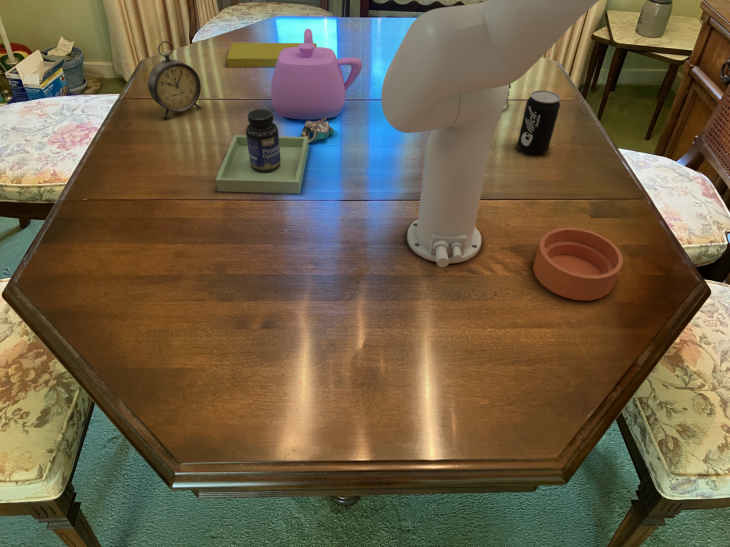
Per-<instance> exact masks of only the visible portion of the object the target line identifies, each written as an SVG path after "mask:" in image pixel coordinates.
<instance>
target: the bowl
mask: <svg viewBox="0 0 730 547" xmlns="http://www.w3.org/2000/svg"><path fill="white" fill-rule="evenodd" d="M533 261H534V262H533V264H532V265H533V266H532V270H533V273H534V276H535V278H536V279H537V280H538V281H539V283H540V284H541V285H542V286H543V287H545V288H546V289H547V290H549V291H550V292H552V293H554V294H556V295H558V296H560V297H563V298H566V299H570V300H574V301H588V302H589V301H594V300H599V299H602V298H604V297H605V296H607V295H609V294H610V293H611V291H612V289H613V288H614V286H615V283H616V281H617V279H618V276H619V275H620V272H621V270H622V267H623V266H624V256H623V254H622V251H621V250H620V248H618V246H617V245H616V244H615V243H613V241H612V240H610V239H608V238H607V237H605V236H604V235H602V234H600V233H598V232H594V231H592V230H590V229H587V228H586V229H585V228H582V227H581V228H580V227H572V226H569V227H568V226H564V227H558V228H554V229H551V230H549V231H548V232H547V231H546V233H545V234H543V236H542V237H541V238H540V240H539V244H538V247H537V250H536V254H535V257H534V260H533Z"/></svg>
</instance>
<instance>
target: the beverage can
mask: <svg viewBox="0 0 730 547" xmlns="http://www.w3.org/2000/svg"><path fill="white" fill-rule="evenodd" d="M560 99H561V97H560V95H558V93H556V92H554V91H551V90H545V89H544V90H543V89H539V90H534V91H532V92H531V93H530V96H529V97H528V99H527V100H526V104H525V108H524V113H523V118H522V122H521V126H520V130H519V135H518V139H517V147H518V149H519V150H520V152H522V153H524V154H526V155H530V156H541V155H543V154H545V153H546V152H548V151H549V148H550V144H551V142H552V137H553V134H554V130H555V127H556V123H557V119H558V115H559V111H560V109H561V108H560V107H561V102H560Z"/></svg>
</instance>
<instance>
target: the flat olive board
mask: <svg viewBox="0 0 730 547" xmlns="http://www.w3.org/2000/svg"><path fill="white" fill-rule="evenodd" d="M302 43H303V42H232V43H231V46H230V49H229V51H228V53H227V57H226V64H227V68H241V67H243V68H253V67H254V68H257V67H258V68H275V66H276V63H277V60H278V57H279V54H280V52H281V51H282V50H283V49H285V48H290V47H298V45H299V44H302ZM313 44H314V45H315V47H318V46H317V42H313Z"/></svg>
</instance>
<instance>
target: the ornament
mask: <svg viewBox="0 0 730 547" xmlns="http://www.w3.org/2000/svg"><path fill="white" fill-rule="evenodd" d="M311 134H313V135H312V137H311ZM333 134H335V130H334V129H333V127H332V126H330V121H327V118H324V119H317V120H314V121H312V119H307V120H306V121H305V122H304V126H303V127H302V130H301V132H300V137H308V144H311V143H316V141H317V140H324V139H328V138H329V137H330V135H331V136H332V135H333Z"/></svg>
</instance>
